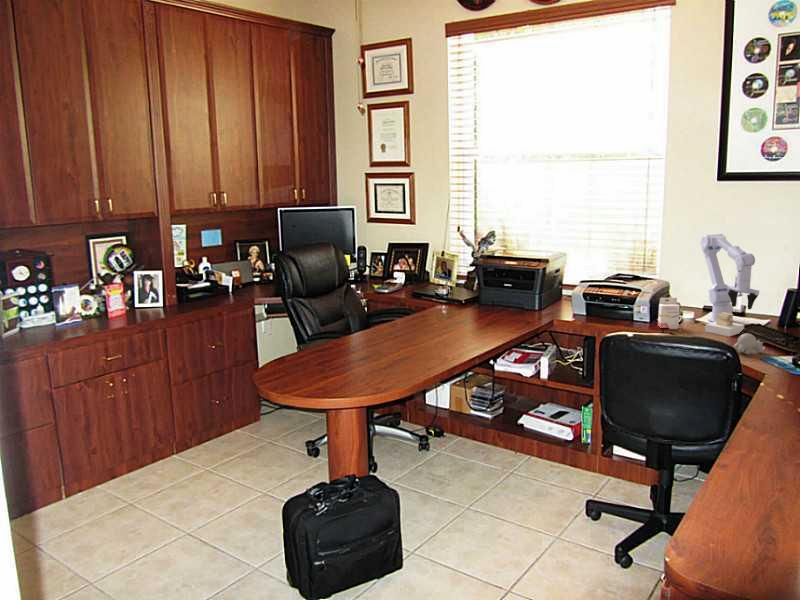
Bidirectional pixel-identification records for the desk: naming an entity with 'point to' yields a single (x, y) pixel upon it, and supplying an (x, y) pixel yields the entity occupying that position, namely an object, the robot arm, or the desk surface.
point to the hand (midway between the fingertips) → (741, 307)
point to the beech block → (724, 319)
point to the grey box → (724, 329)
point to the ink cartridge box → (668, 313)
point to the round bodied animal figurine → (748, 344)
